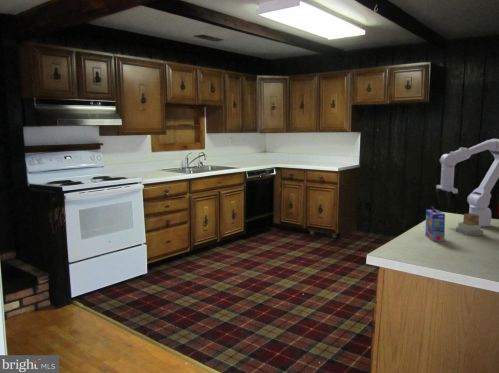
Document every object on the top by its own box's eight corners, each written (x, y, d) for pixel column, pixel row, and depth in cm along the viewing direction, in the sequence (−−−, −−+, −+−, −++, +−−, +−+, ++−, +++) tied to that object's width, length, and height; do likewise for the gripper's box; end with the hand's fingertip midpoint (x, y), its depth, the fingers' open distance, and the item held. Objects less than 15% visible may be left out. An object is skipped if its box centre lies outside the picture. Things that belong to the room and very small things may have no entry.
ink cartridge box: (424, 235, 189) (425, 204, 187) (436, 235, 188) (438, 204, 186) (431, 241, 179) (433, 208, 177) (444, 241, 178) (446, 208, 176)
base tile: (471, 231, 196) (471, 226, 196) (483, 235, 188) (483, 230, 188) (455, 232, 195) (456, 227, 194) (467, 236, 187) (467, 231, 187)
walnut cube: (472, 222, 193) (472, 213, 192) (478, 225, 188) (479, 215, 188) (463, 223, 192) (463, 213, 192) (469, 225, 188) (470, 215, 187)
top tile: (469, 226, 195) (469, 221, 195) (480, 230, 189) (480, 224, 189) (458, 227, 194) (458, 222, 193) (468, 231, 187) (469, 225, 187)
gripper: (431, 176, 209) (430, 202, 211) (448, 180, 194) (447, 208, 196) (444, 176, 209) (442, 202, 211) (462, 179, 195) (460, 207, 197)
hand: (445, 205), depth 204 cm, fingers open, 7 cm apart
